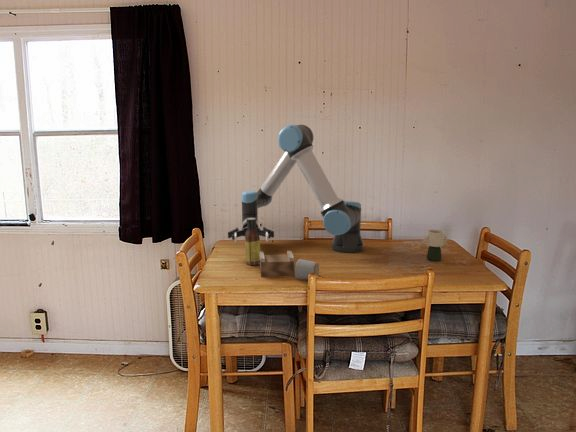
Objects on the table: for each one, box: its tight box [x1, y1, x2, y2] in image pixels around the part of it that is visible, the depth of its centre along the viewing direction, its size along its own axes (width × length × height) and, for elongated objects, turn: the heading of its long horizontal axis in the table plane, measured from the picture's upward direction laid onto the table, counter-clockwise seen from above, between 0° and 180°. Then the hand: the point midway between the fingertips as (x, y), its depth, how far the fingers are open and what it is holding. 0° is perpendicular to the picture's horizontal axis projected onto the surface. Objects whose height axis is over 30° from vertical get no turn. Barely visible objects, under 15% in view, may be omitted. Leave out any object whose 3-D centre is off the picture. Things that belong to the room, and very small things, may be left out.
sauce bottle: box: [244, 218, 261, 266], centre depth 207 cm, size 7×6×20 cm
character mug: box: [422, 229, 448, 261], centre depth 214 cm, size 11×7×13 cm, turn 98°
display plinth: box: [259, 250, 295, 278], centre depth 196 cm, size 13×10×8 cm
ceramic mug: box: [294, 258, 320, 281], centre depth 190 cm, size 11×8×8 cm
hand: (251, 239), depth 207 cm, fingers open, 13 cm apart
